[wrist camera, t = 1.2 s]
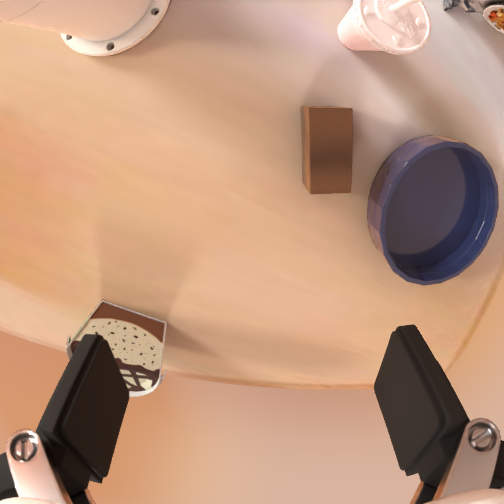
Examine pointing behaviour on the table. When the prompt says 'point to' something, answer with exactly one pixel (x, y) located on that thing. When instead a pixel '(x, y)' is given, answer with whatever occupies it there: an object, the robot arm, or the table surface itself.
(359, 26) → the smoothie
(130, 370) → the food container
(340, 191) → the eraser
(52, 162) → the table surface
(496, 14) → the meal
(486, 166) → the bowl
